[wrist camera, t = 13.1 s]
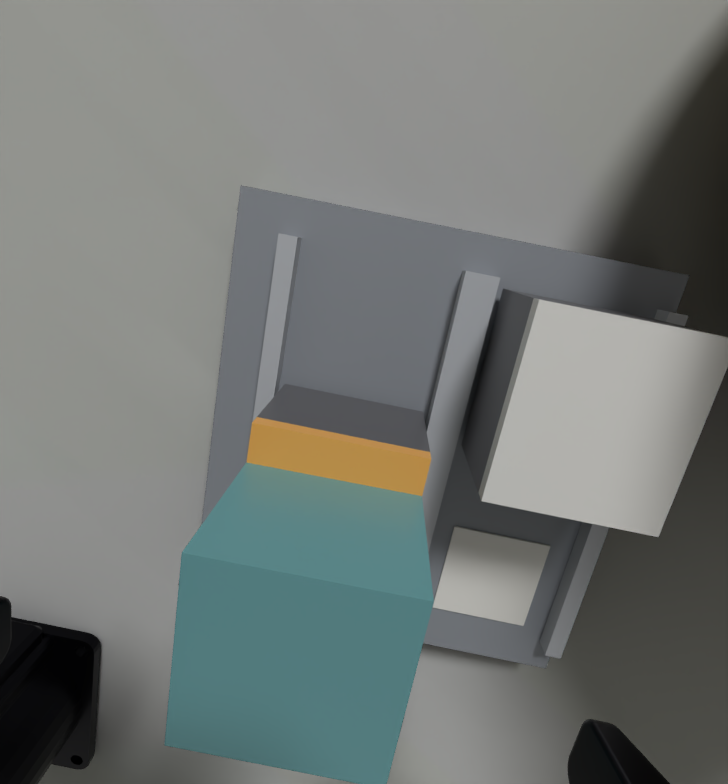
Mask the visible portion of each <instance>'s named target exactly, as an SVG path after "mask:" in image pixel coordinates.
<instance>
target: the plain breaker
mask: <svg viewBox="0 0 728 784" xmlns="http://www.w3.org/2000/svg"><path fill="white" fill-rule="evenodd" d="M727 367H728V337H725V336H721V335H717V334H713V333H709V332H705V331H701V330H697V329H693V328H689V327H685V326H681V325H677V324H673V323H669V322H665V321H661V320H657V319H653V318H648V317H643V316H638V315H633V314H628V313H623V312H618V311H613V310H608V309H603V308H598V307H593V306H588V305H583V304H578V303H573V302H568V301H563V300H558V299H553V298H548V297H543V296H538V295H533V294H528V293H523V292H518V291H513V290H509V289H504V288H503V290H502V294H501V298H500V302H499V305H498V309H497V313H496V317H495V320H494V324H493V328H492V332H491V336H490V339H489V343H488V347H487V351H486V354H485V358H484V362H483V366H482V369H481V373H480V377H479V381H478V384H477V388H476V392H475V396H474V399H473V403H472V407H471V411H470V415H469V418H468V422H467V426H466V430H465V433H464V437H463V441H462V448H463V451H464V453H465V456H466V459H467V462H468V465H469V468H470V470H471V473H472V476H473V479H474V482H475V485H476V488H477V490H478V493H479V496H480V499H481V501H483V502H488V503H493V504H498V505H502V506H507V507H512V508H517V509H522V510H527V511H532V512H537V513H542V514H547V515H552V516H557V517H561V518H566V519H571V520H576V521H581V522H586V523H591V524H596V525H601V526H606V527H611V528H616V529H620V530H625V531H630V532H635V533H640V534H645V535H650V536H655V537H659V534H660V532H661V530H662V527H663V525H664V522H665V520H666V517H667V515H668V512H669V510H670V507H671V505H672V503H673V500H674V498H675V495H676V493H677V490H678V488H679V485H680V483H681V480H682V478H683V476H684V473H685V471H686V468H687V466H688V463H689V461H690V458H691V456H692V453H693V451H694V448H695V446H696V444H697V441H698V439H699V436H700V434H701V431H702V429H703V426H704V424H705V421H706V419H707V417H708V414H709V412H710V409H711V407H712V404H713V402H714V399H715V397H716V394H717V392H718V390H719V387H720V385H721V382H722V380H723V377H724V375H725V372H726V370H727Z"/></svg>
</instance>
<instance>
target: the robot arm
mask: <svg viewBox="0 0 728 784" xmlns="http://www.w3.org/2000/svg"><path fill="white" fill-rule="evenodd" d="M84 647H85V648H84ZM99 661H100V642H99V640H98V639H97V638H96V637H95V636H94V635H92V634H89V633H86V632H81V631H76V630H71V629H66V628H61V627H56V626H52V625H47V624H42V623H37V622H32V621H27V620H22V619H18V618H13V617H11V603H10V601H9V599H7V598H6V597H2V596H0V784H38V783H39V781H40V780H41V778H42V777H43V775H44V774H45V772H46V771H47V769H48V768H49V766H50V765H51V764H54V765H59V766H64V767H68V768H73V769H84V768H86V767H87V766H88V764H89V763H90V761H91V759H92V758H93V756H94V751H95V733H96V715H97V697H98V679H99ZM568 778H569V784H670V783H669V782H668V781H667V780H666V779H665V778H664V777H663V776H662V775H661V774H660V772H659V771H658V770H657V769H656V768H655V767H654V766H653V765H652V764H651V763H650V762H649V761H648V760H647V758H646V757H645V756H644V755H643V754H642V753H641V752H640V751H639V750H638V749H637V748H636V747H635V746H634V745H633V743H632V742H631V741H630V740H629V739H628V738H627V737H626V736H625V735H624V734H623V733H622V732H621V731H620V730H619V729H618V728H617V727H616V726H615V725H613V724H611V723H606V722H602V721H597V720H592V719H588V720H586V721H585V722H584V723H583V724H582V726H581V729H580V731H579V734H578V736H577V738H576V741H575V743H574V746H573V748H572V751H571V753H570V756H569V760H568Z"/></svg>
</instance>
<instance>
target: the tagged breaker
mask: <svg viewBox="0 0 728 784" xmlns="http://www.w3.org/2000/svg"><path fill="white" fill-rule="evenodd" d="M247 463H252V464H257V465H262V466H267V467H273V468H278V469H283V470H288V471H293V472H299V473H304V474H309V475H314V476H320V477H325V478H330V479H335V480H340V481H346V482H351V483H356V484H361V485H366V486H372V487H377V488H382V489H387V490H392V491H398V492H403V493H408V494H413V495H419V496H422V495H423V491H424V487H425V483H426V479H427V475H428V471H429V467H430V463H431V454H430V448H429V443H428V437H427V432H426V426H425V420H424V415H423V412H422V411H417V410H412V409H407V408H402V407H398V406H393V405H388V404H383V403H378V402H373V401H368V400H363V399H358V398H353V397H348V396H343V395H338V394H333V393H328V392H324V391H319V390H314V389H309V388H304V387H299V386H294V385H289V384H284V385H283V387H282V388H281V389H280V390H279V391H278V393H277V394H276V395H275V396H274V397H273V398H272V400H271V401H270V402H269V403H268V404H267V406H266V407H265V408H264V409H263V410H262V411H261V413H260V414H259V415H258V416H257V417H256V418H255V420H254V421H253V422H252V426H251V433H250V440H249V448H248V455H247Z"/></svg>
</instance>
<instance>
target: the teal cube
mask: <svg viewBox="0 0 728 784" xmlns="http://www.w3.org/2000/svg"><path fill="white" fill-rule="evenodd" d="M433 603H434V598H433V589H432V581H431V572H430V563H429V554H428V545H427V536H426V527H425V519H424V510H423V501H422V496H419V495H413V494H408V493H403V492H398V491H392V490H387V489H382V488H377V487H372V486H366V485H361V484H356V483H351V482H346V481H340V480H335V479H330V478H325V477H320V476H314V475H309V474H304V473H299V472H293V471H288V470H283V469H278V468H273V467H267V466H262V465H257V464H252V463H247V462H246V463H245V465H244V466H243V468H242V469H241V471H240V472H239V473H238V475H237V476H236V478H235V479H234V480H233V482H232V483H231V485H230V486H229V487H228V489H227V490H226V492H225V493H224V494H223V496H222V497H221V499H220V500H219V501H218V503H217V504H216V506H215V507H214V508H213V510H212V511H211V513H210V514H209V515H208V517H207V518H206V520H205V521H204V522H203V524H202V525H201V527H200V528H199V529H198V531H197V532H196V534H195V535H194V536H193V538H192V539H191V541H190V542H189V543H188V545H187V546H186V548H185V549H184V550H183V552H182V557H181V568H180V579H179V590H178V601H177V612H176V623H175V634H174V645H173V656H172V667H171V679H170V690H169V701H168V712H167V723H166V734H165V746H170V747H175V748H181V749H186V750H191V751H196V752H201V753H206V754H211V755H216V756H221V757H226V758H231V759H236V760H241V761H246V762H252V763H257V764H262V765H267V766H272V767H277V768H282V769H287V770H292V771H297V772H302V773H307V774H312V775H317V776H322V777H328V778H333V779H338V780H343V781H348V782H353V783H358V784H387V780H388V776H389V772H390V769H391V765H392V761H393V757H394V753H395V749H396V745H397V742H398V738H399V734H400V730H401V726H402V722H403V719H404V715H405V711H406V707H407V703H408V699H409V695H410V692H411V688H412V684H413V680H414V676H415V672H416V669H417V665H418V661H419V657H420V653H421V649H422V645H423V642H424V638H425V634H426V630H427V626H428V622H429V619H430V615H431V611H432V607H433Z"/></svg>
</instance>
